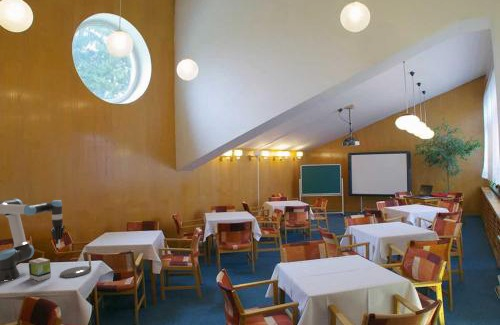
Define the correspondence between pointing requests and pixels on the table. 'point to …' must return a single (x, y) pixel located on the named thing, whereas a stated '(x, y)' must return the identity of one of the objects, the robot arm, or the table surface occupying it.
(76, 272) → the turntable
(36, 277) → the tea box
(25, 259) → the robot arm
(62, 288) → the table surface
